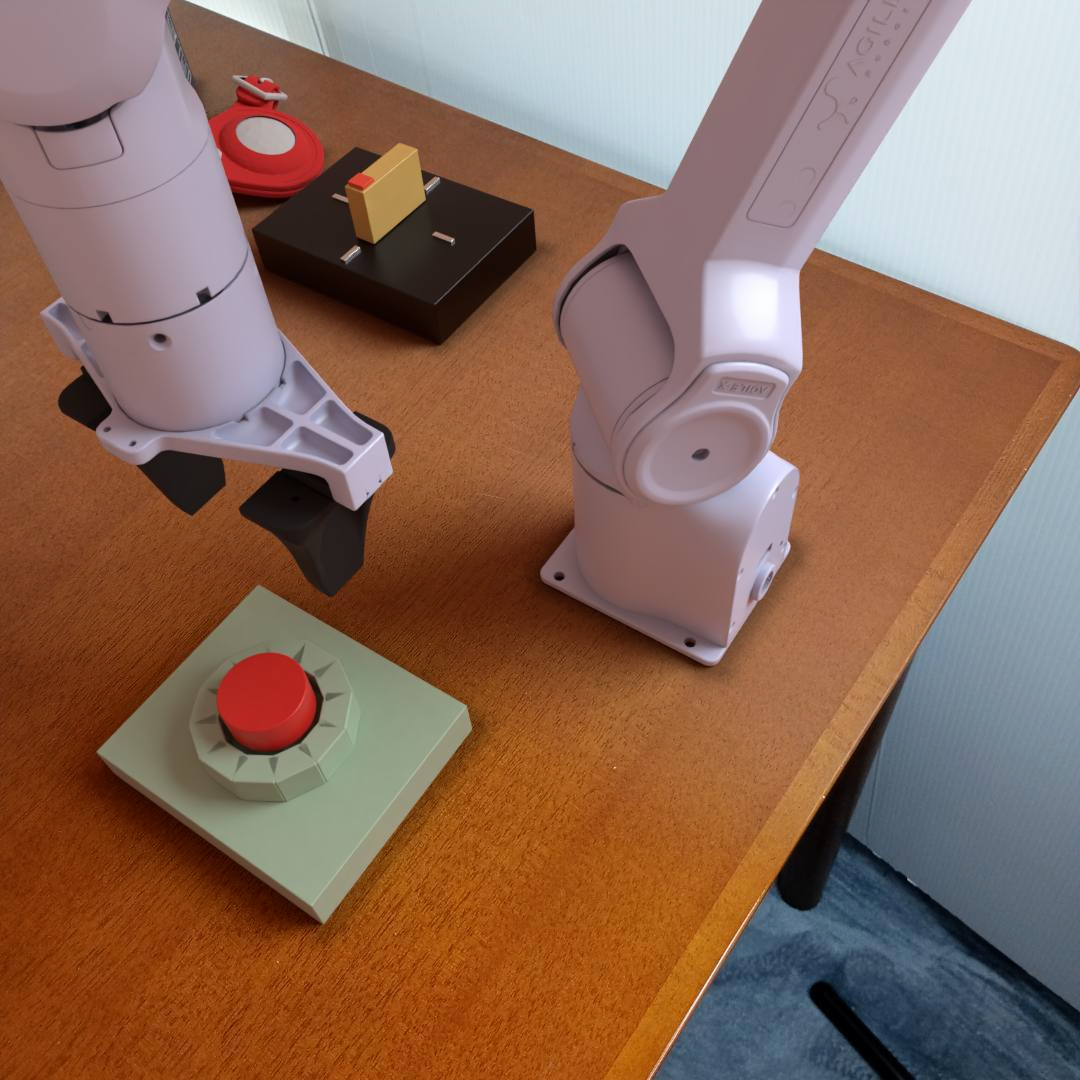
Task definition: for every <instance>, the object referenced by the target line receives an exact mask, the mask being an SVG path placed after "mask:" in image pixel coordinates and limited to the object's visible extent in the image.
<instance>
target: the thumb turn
mask: <svg viewBox="0 0 1080 1080" xmlns="http://www.w3.org/2000/svg"><path fill="white" fill-rule="evenodd" d="M381 156H382V157H381V158H380V159H378V160H377V161H376V162H375V163H373V164H372V165H371V166H370V167H368V168H367V169H366V170H365V171H363V172H362V173H358V174H357V175H355V176H354V177H353V178H352V179H350V180H349V181H348V184H347V185H346V186H345V190H346V194H347V198H348V202H349V207H350V211H351V215H352V219H353V224H354V228H355V232H356V236H357V237H358V238H360V239H363V240H365V241H368V242H370V243H373V244H375V243H376V242H377V241H378V240H380V239H381V238H382V237H383V236H384V235H385V234H387V233H388V232H389V231H390V230H391V229H392V228H394V227H395V226H396V225H397V224H398V223H399V222H401V221H402V220H403V219H404V218H405V217H406V216H408V215H409V214H410V213H411V212H412V211H413V210H415V209H416V208H417V207H418V206H419V205H420V204H422V203H423V202H424V201H425V200H426V198H425V192H424V186H423V180H422V174H421V170H422V168H421V162H420V157H419V150H418V149H417V148H416V147H412V146H410V145H408V144H404V143H403V142H402V143H401V142H398V143H397V144H396V145H394V146H393V147H391V149H389V150H388V151H387V152H386V153H384V154H383V155H381Z"/></svg>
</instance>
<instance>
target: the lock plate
mask: <svg viewBox="0 0 1080 1080" xmlns="http://www.w3.org/2000/svg"><path fill="white" fill-rule="evenodd" d="M382 156H383V155H382V154H379V153H375V152H373V151H369V150H367V149H365V148H361V147H359V146H354V147H353V148H352V149H350V150H349V151H348V152H347V153H345V155H343V156H342V157H341V158H339V159H338V160H337V161H335V162H334V163H332V165H330V166H329V167H328V168H327V169H326V170H323V171H322V174H320V175H319V176H318V177H317V178H315V179H314V180H313V181H312V182H310V183H309V184H308V185H307V186H305V187H304V188H303V189H302V190H300V191H299V192H298V193H297V194H295V195H294V196H291V197H289V199H288V200H286V201H285V202H284V203H283V204H281V205H280V206H279V207H277V208H276V209H275V210H274V211H272V212H271V213H270V214H269V215H268V216H266V217H264V219H262V220H261V221H260V222H258V224H256V225H255V226H253V227H252V228H251V232H252V235H253V239H254V242H255V246H256V249H257V252H258V254H259V257H260V260H261V264H262V266H263V269H264V270H265V271H266V270H267V272H271V273H273V274H276V275H277V276H280V277H282V278H285V279H287V280H289V281H291V282H294V283H296V284H299V285H300V286H301V285H302V286H303V287H306V288H308V289H310V290H312V291H315V292H317V293H319V294H321V295H323V296H324V295H325V296H327V297H329V298H332V299H334V300H336V301H338V302H341V303H343V304H345V305H348V306H350V307H352V308H355V309H357V310H359V311H362V312H364V313H366V314H369V315H371V316H373V317H376V318H378V319H379V320H383V321H385V322H387V323H390V324H391V325H394V326H397V327H399V328H401V329H404V330H406V331H408V332H410V333H412V334H415V335H417V336H420V337H422V338H425V339H427V340H429V341H432V342H434V343H436V344H438V345H443V344H444V343H445V342H446V341H447V340H448V339H449V338H450V337H451V336H452V335H453V334H454V333H455V332H456V331H457V330H458V329H459V328H460V327H461V326H462V325H463V324H464V323H465V322H466V321H467V320H468V319H469V318H470V317H471V316H472V315H473V314H474V313H475V312H476V311H477V310H478V309H479V308H480V307H481V306H482V305H483V304H484V303H485V302H486V301H487V300H488V299H489V298H490V297H491V296H492V295H493V294H494V293H495V292H496V291H497V290H498V289H499V288H500V287H501V286H502V285H503V284H504V283H505V282H506V281H507V280H508V279H510V277H512V275H514V273H515V272H516V271H517V270H519V269H520V267H521V266H522V265H523V264H524V263H525V262H526V261H527V260H528V259H530V257H531V256H533V254H534V253H535V252H536V251H537V250H538V249H537V248H538V247H537V235H536V234H537V233H536V222H535V221H536V219H535V210H534V209H533V208H530V207H527V206H525V205H523V204H519V203H516V202H513V201H511V200H508V199H505V198H502V197H499V196H497V195H493V194H491V193H488V192H486V191H483V190H480V189H477V188H474V187H471V186H468V185H465V184H463V183H460V182H458V181H455V180H451V179H449V178H446V177H443V176H440V175H437V174H435V173H432V172H429V171H426V170H423V169H421V174H422V180H423V186H424V192H425V198H426V200H425V201H424V202H423V203H422V204H420V205H419V206H418V207H417V208H416V209H415V210H413V211H412V212H411V213H410V214H409V215H408V216H406V217H405V218H404V219H403V220H402V221H401V222H399V223H398V224H397V225H396V226H395V227H394V228H392V229H391V230H390V231H389V232H388V233H387V234H385V235H384V236H383V237H382V238H381V239H380V240H378V241H377V242H376V243H375V244H373V243H370V242H368V241H365V240H363V239H360V238H358V237H357V236H356V232H355V228H354V224H353V219H352V215H351V211H350V207H349V202H348V198H347V194H346V190H345V186H346V185H347V184H348V181H349V180H350V179H352V178H353V177H354V176H355V175H357V174H358V173H362V172H363V171H365V170H366V169H367V168H368V167H370V166H371V165H372V164H373V163H375V162H376V161H377V160H378V159H380V158H381V157H382Z"/></svg>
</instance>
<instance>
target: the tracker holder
mask: <svg viewBox="0 0 1080 1080" xmlns="http://www.w3.org/2000/svg"><path fill="white" fill-rule="evenodd" d="M230 81H231V82H232V83H234V84H237V85H238V86H237V87H236V90H235V93H236V98H237V99H236V101H234V103H233V104H231V106H230V107H229V108H228V109H227V110H225V111H223V112H221V113H218V114H216V115H215V116H213V117H211V118H210V119H208V123H209V125H210V128H211V132H212V135H213V138H214V141H215V144H216V147H217V150H218V153H219V156H220V159H221V162H222V165H223V168H224V171H225V174H226V177H227V180H228V183H229V186H230V189H231V192H232V193H235V194H242V195H247V196H253V197H259V198H260V197H261V198H271V199H272V198H273V199H286V198H292V197H293V196H294V195H295V194H297V193H298V192H299V191H300V190H302V189H303V188H304V187H305V186H307V185H308V184H309V183H310V182H312V181H313V180H314V179H315V178H317V177H318V176H319V175H320V174H322V173H323V172H324V163H325V150H324V146H323V144H322V141H321V140H320V139H319V137H318V136H317V135H316V133H315V132H314V131H313V130H312V129H311V128H310V127H308V126H307V124H305V123H304V122H302V121H301V120H299V119H297V117H296V118H295V117H294V116H292V115H291V114H287V113H286V112H282V111H279V110H277V108H278V105H279V102H280V101H287V100H288V94H286V93H284V92H283V91H281V89H280V85H279V84H277V83H274V80H272V79H271V78H269V77H258V76H256V75H253V74H250V75H237V74H236V75H231V76H230Z"/></svg>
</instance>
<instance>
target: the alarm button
mask: <svg viewBox="0 0 1080 1080" xmlns="http://www.w3.org/2000/svg"><path fill="white" fill-rule="evenodd" d="M216 702H217V708H218V712H219V714H220V716H221V718H222V719H223V721H224V722H225V724H226V726H227V727H228V729H229V730H230V732H231V734H232V735H233V737H234V738H235V739H236V740H237V742H239V743H240V744H241V745H243V746H244V747H246V748H249V749H251V750H255V751H274V750H278V749H282V748H284V747H287V746H289V745H290V744H292V743H294V742H295V741H297V740H298V739H299V738H300V737H301V736H302V735H303V734H304V733H305V732H306V731H307V730H308V728H309V727H310V725H311V723H312V721H313V719H314V716H315V713H316V697H315V694H314V691H313V689H312V687H311V685H310V683H309V680H308V678H307V676H306V674H305V672H304V670H303V668H302V667H301V665H300V664H299V663H298V662H297V661H295V660H294V659H293V658H291V657H289V656H286V655H284V654H280V653H273V652H268V653H260V654H256V655H252V656H250V657H247V658H245V659H243V660H242V661H240V662H239V663H237V664H236V665H235V666H233V667H232V668H231V669H230V670H229V671H228V672H227V674H226V675H225V676H224V678H223V679H222V681H221V683H220V685H219V688H218V692H217V700H216Z"/></svg>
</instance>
